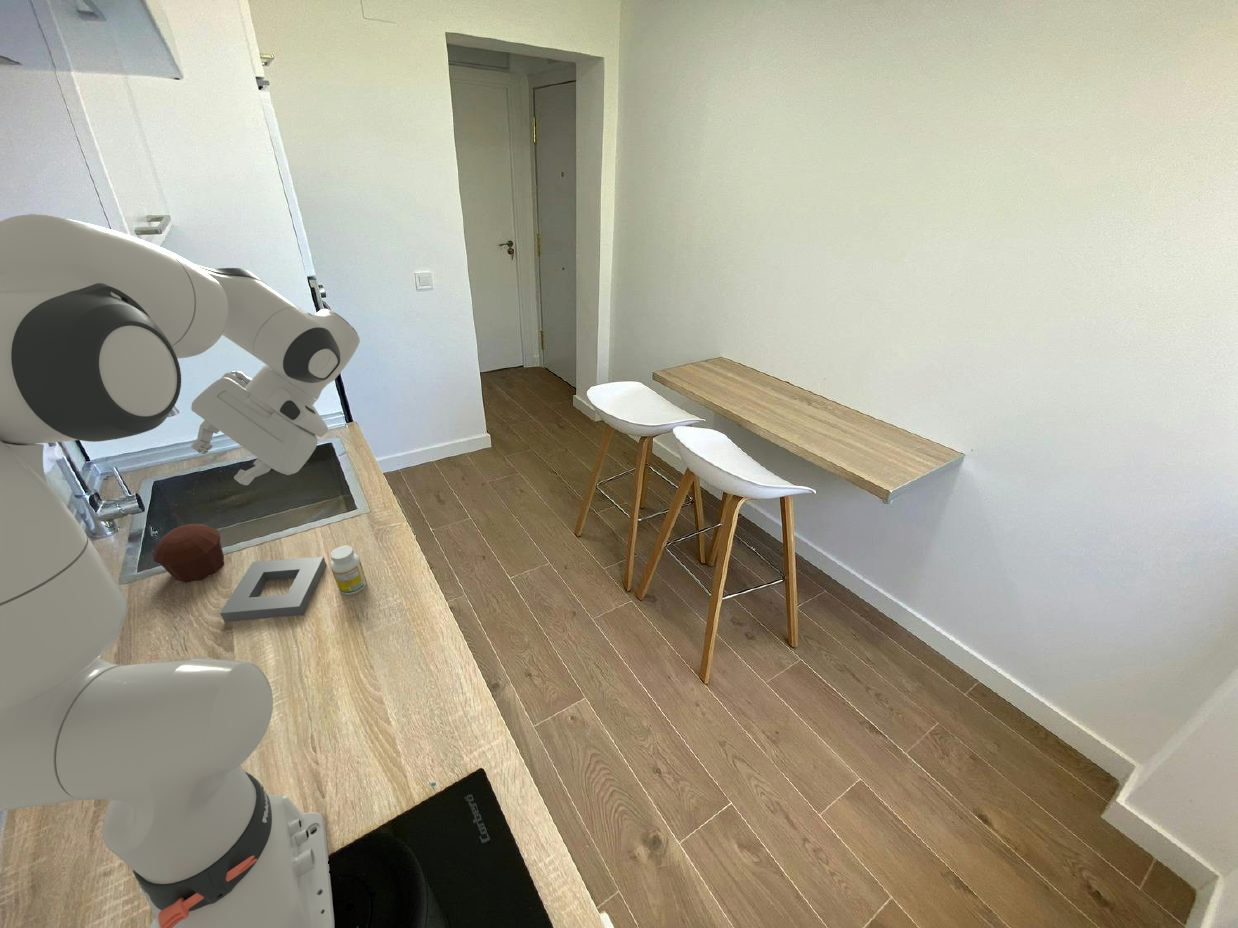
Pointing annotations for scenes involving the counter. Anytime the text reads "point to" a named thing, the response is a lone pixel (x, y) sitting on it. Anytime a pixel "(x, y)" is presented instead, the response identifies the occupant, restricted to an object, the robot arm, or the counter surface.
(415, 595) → the counter surface
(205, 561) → the muffin
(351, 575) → the supplement bottle
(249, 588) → the frame
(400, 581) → the counter surface
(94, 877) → the counter surface
